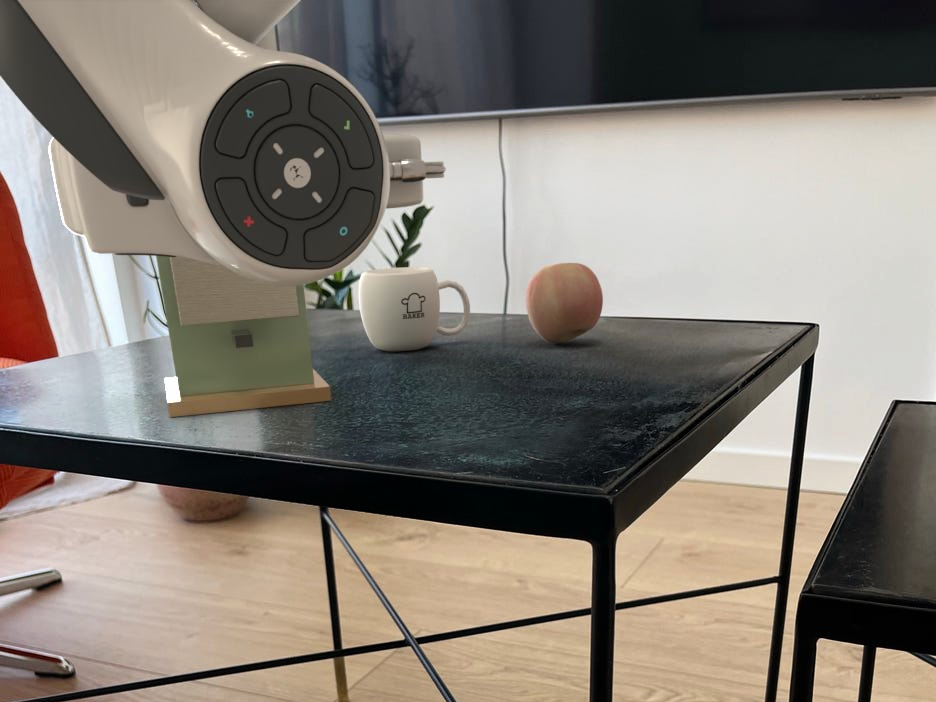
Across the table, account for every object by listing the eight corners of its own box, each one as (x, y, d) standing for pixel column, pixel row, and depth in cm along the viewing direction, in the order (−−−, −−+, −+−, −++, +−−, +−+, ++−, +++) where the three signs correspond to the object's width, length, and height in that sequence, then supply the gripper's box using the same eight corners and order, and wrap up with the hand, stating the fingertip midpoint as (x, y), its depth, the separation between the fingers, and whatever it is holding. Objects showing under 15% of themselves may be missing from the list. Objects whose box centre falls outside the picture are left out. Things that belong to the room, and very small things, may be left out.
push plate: (299, 316, 80) (286, 205, 76) (181, 325, 77) (162, 212, 74) (297, 314, 81) (284, 205, 77) (180, 323, 78) (162, 211, 75)
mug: (373, 357, 104) (366, 275, 100) (355, 346, 111) (348, 270, 108) (484, 346, 107) (480, 267, 104) (459, 336, 114) (455, 262, 111)
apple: (611, 338, 108) (612, 258, 105) (587, 350, 102) (587, 265, 98) (542, 337, 111) (540, 259, 108) (514, 348, 105) (512, 266, 101)
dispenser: (333, 403, 83) (311, 189, 76) (170, 420, 80) (131, 198, 73) (311, 377, 94) (289, 190, 88) (167, 391, 91) (133, 198, 85)
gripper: (451, 101, 52) (393, 117, 64) (27, 111, 47) (51, 127, 59) (457, 233, 55) (401, 225, 67) (56, 256, 50) (73, 242, 62)
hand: (234, 179), depth 63 cm, fingers closed
